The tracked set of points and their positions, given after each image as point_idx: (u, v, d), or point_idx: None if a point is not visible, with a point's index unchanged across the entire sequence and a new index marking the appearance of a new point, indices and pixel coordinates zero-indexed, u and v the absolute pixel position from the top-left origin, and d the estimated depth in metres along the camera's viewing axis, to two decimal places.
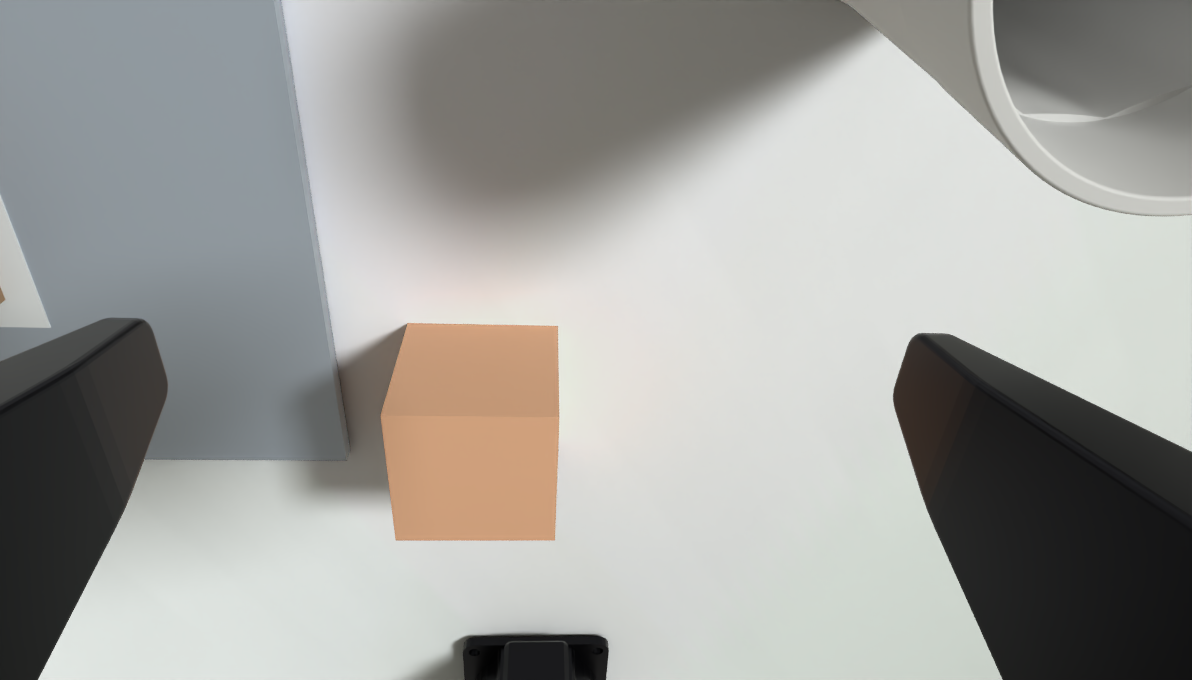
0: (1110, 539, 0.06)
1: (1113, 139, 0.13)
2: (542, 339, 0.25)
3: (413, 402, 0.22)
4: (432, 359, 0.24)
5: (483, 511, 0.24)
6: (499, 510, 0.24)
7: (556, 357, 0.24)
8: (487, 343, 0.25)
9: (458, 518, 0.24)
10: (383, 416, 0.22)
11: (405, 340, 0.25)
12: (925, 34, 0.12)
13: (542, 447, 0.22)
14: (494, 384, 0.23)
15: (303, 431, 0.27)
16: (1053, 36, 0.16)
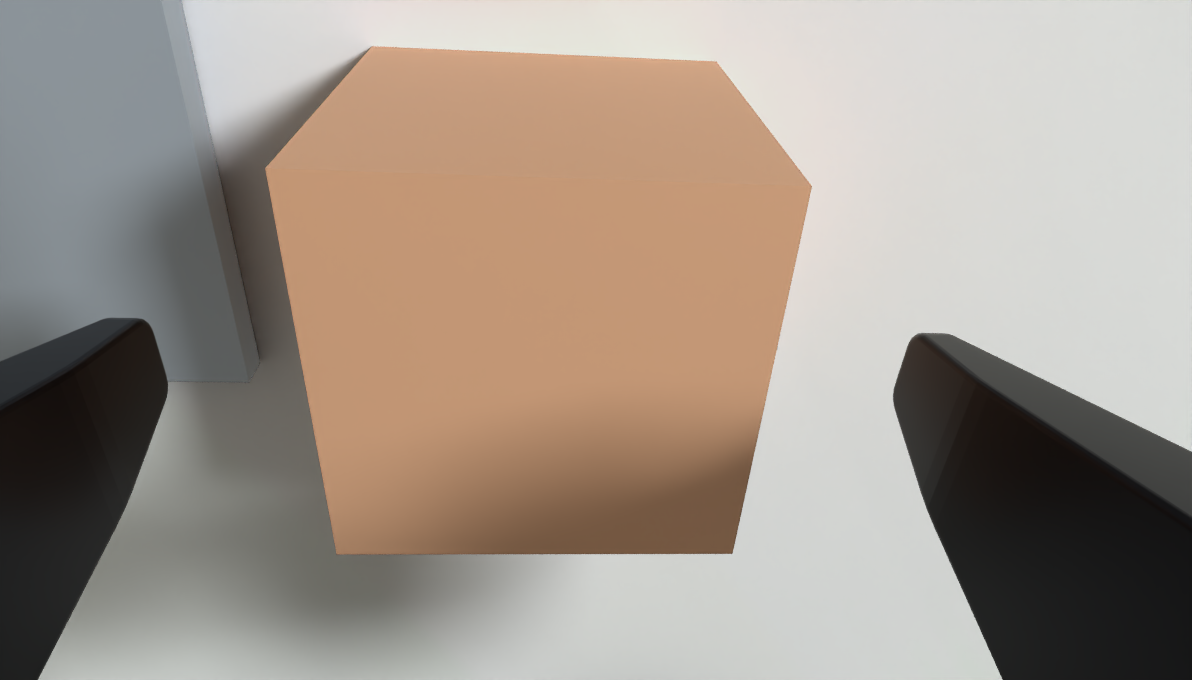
0: (1110, 539, 0.06)
1: None
2: (691, 73, 0.11)
3: (372, 149, 0.07)
4: (429, 88, 0.09)
5: (562, 479, 0.09)
6: (605, 477, 0.09)
7: (739, 97, 0.10)
8: (562, 74, 0.10)
9: (496, 497, 0.09)
10: (275, 173, 0.07)
11: (363, 64, 0.10)
12: None
13: (744, 289, 0.08)
14: (597, 128, 0.08)
15: (148, 313, 0.12)
16: None
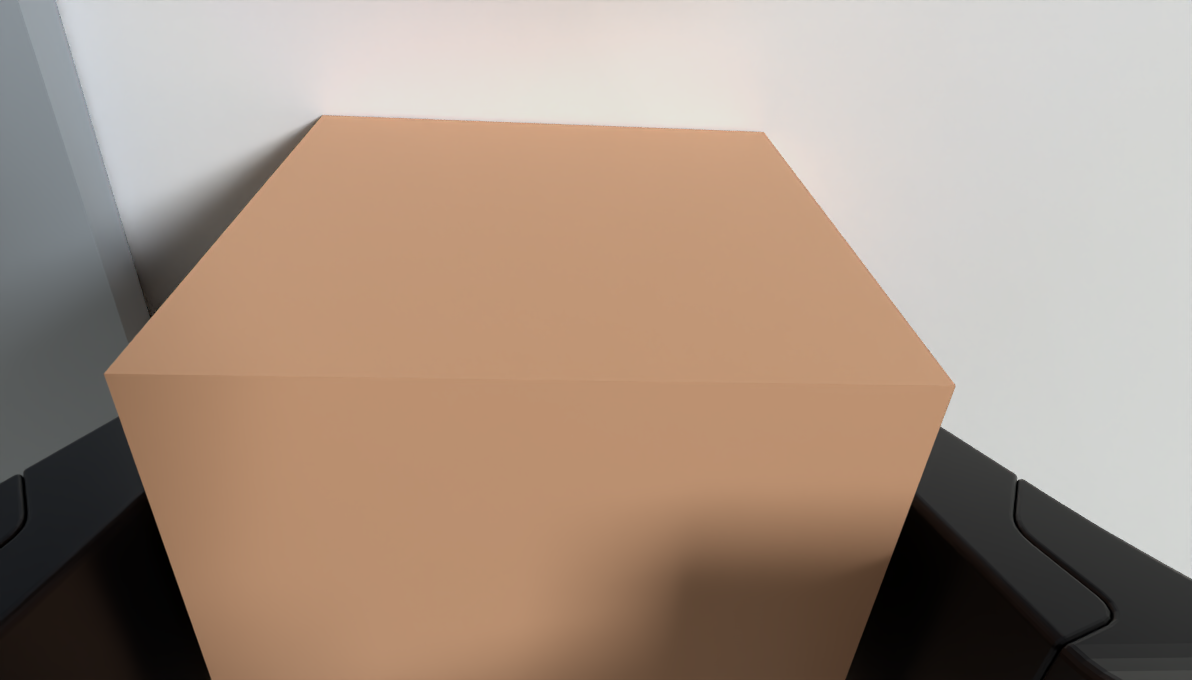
0: None
1: None
2: (737, 156, 0.08)
3: (286, 319, 0.05)
4: (387, 192, 0.07)
5: None
6: None
7: (806, 196, 0.07)
8: (568, 160, 0.08)
9: None
10: (121, 380, 0.04)
11: (303, 148, 0.08)
12: None
13: (840, 517, 0.05)
14: (622, 263, 0.06)
15: (52, 437, 0.10)
16: None
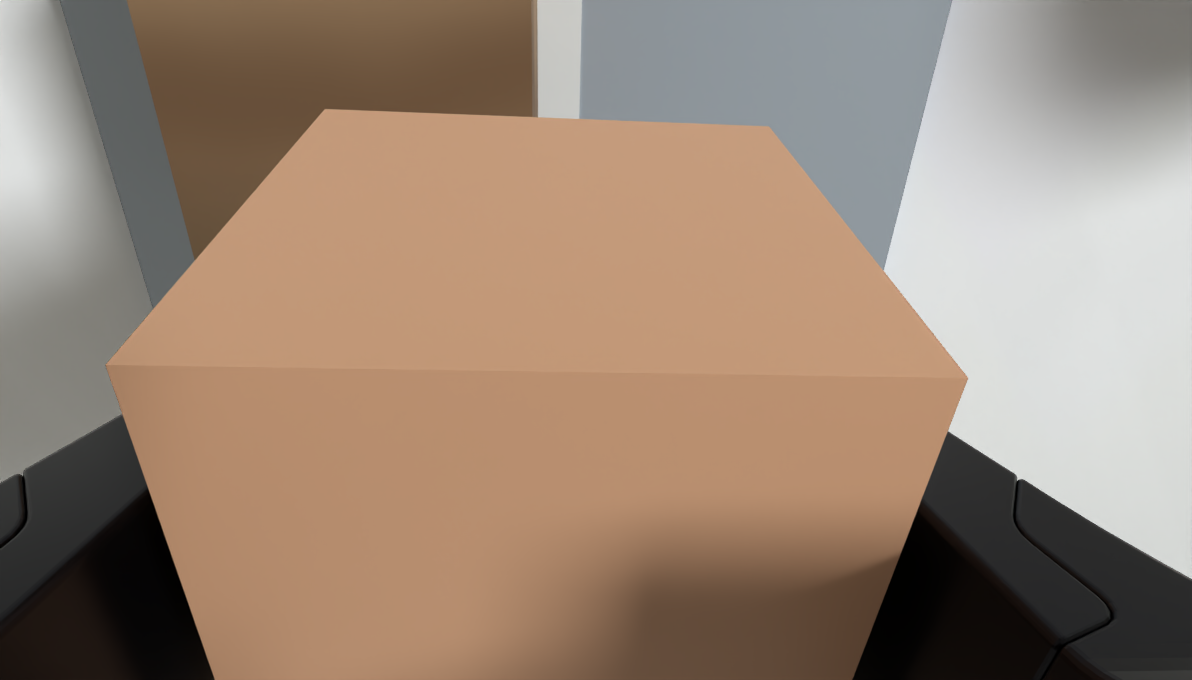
0: None
1: None
2: (742, 150, 0.08)
3: (289, 311, 0.05)
4: (390, 184, 0.07)
5: None
6: None
7: (813, 190, 0.07)
8: (572, 154, 0.08)
9: None
10: (122, 370, 0.04)
11: (306, 141, 0.08)
12: None
13: (850, 512, 0.05)
14: (627, 255, 0.06)
15: None
16: None
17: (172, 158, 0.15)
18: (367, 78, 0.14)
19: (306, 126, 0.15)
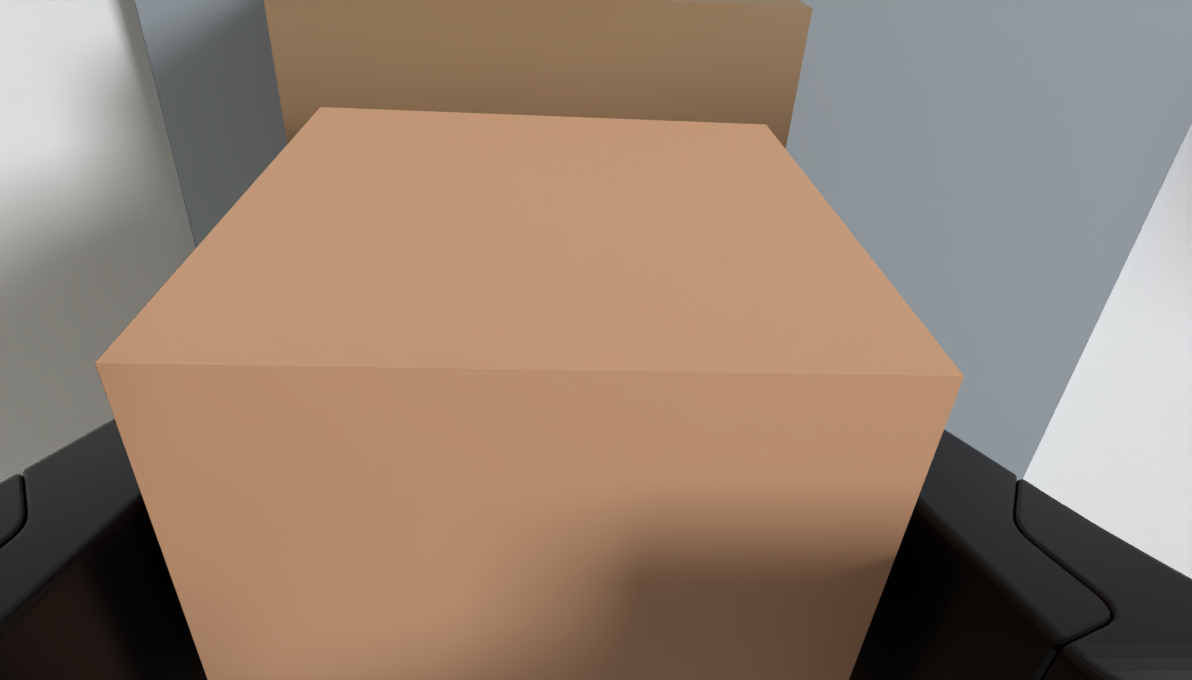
0: None
1: None
2: (739, 148, 0.08)
3: (279, 309, 0.05)
4: (384, 182, 0.07)
5: None
6: None
7: (810, 188, 0.07)
8: (568, 153, 0.08)
9: None
10: (112, 369, 0.04)
11: (300, 139, 0.08)
12: None
13: (846, 510, 0.05)
14: (623, 254, 0.06)
15: None
16: None
17: None
18: None
19: None
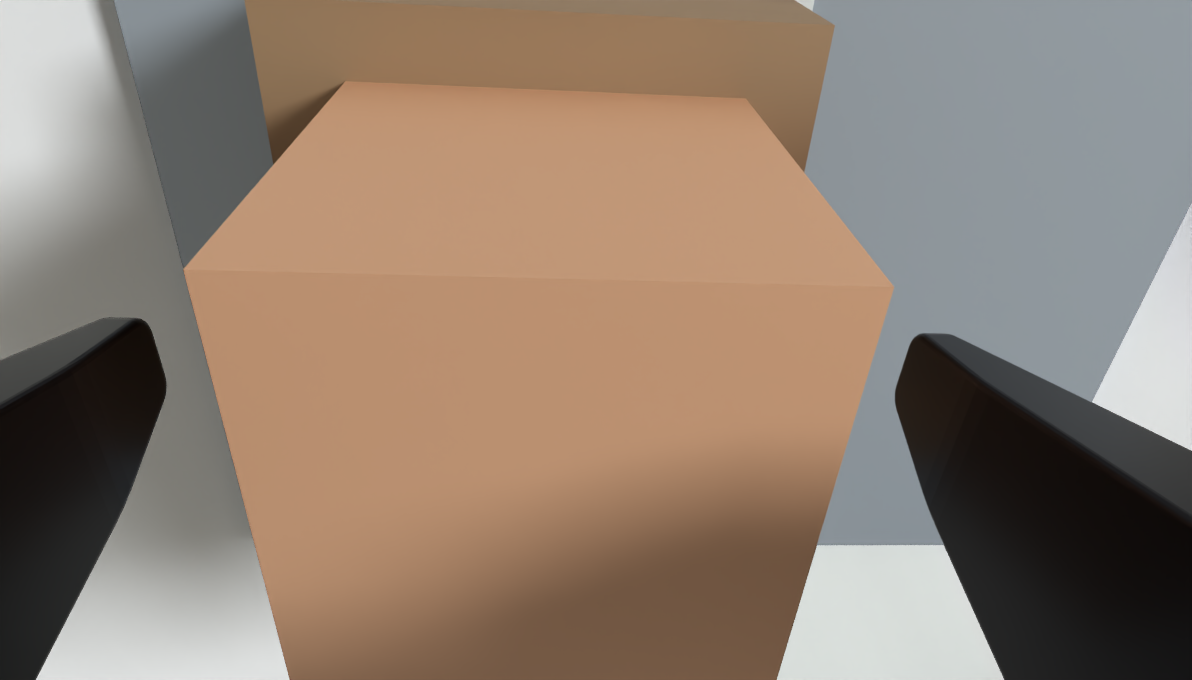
0: (1113, 539, 0.06)
1: None
2: (720, 117, 0.09)
3: (328, 235, 0.06)
4: (408, 142, 0.08)
5: (569, 620, 0.07)
6: (620, 618, 0.07)
7: (780, 149, 0.08)
8: (568, 120, 0.09)
9: (488, 639, 0.08)
10: (197, 275, 0.05)
11: (331, 107, 0.08)
12: None
13: (801, 407, 0.06)
14: (615, 197, 0.07)
15: None
16: None
17: None
18: None
19: None
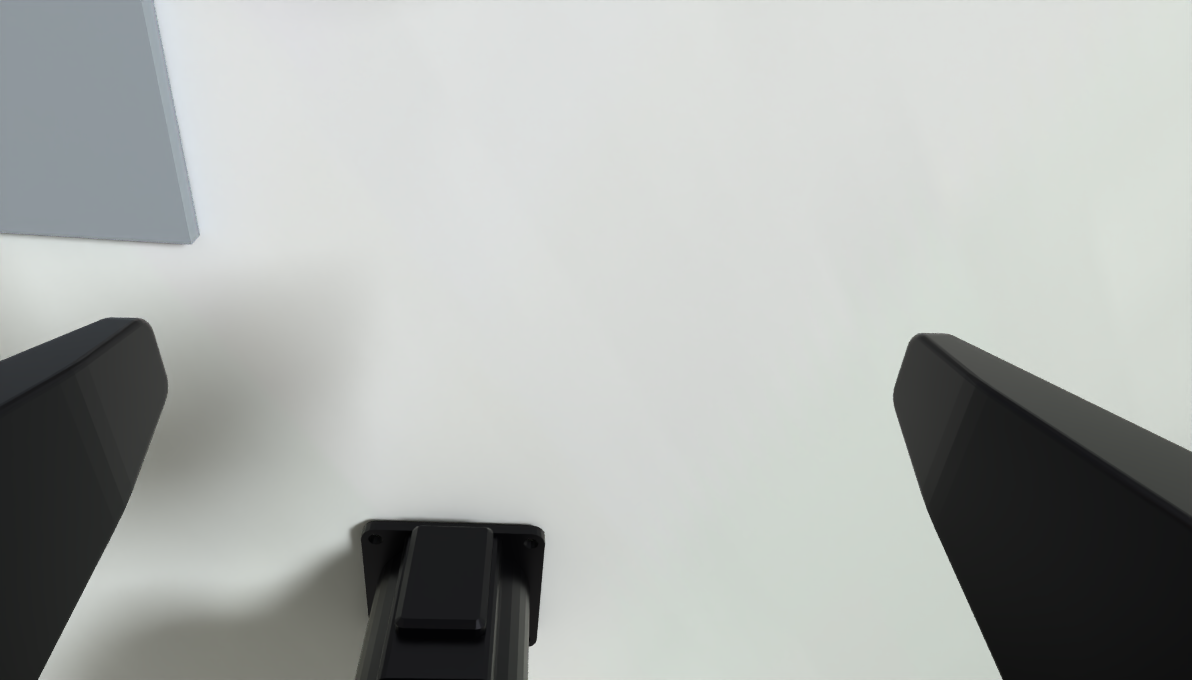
0: (1111, 539, 0.06)
1: None
2: None
3: None
4: None
5: None
6: None
7: None
8: None
9: None
10: None
11: None
12: None
13: None
14: None
15: (128, 194, 0.20)
16: None
17: None
18: None
19: None
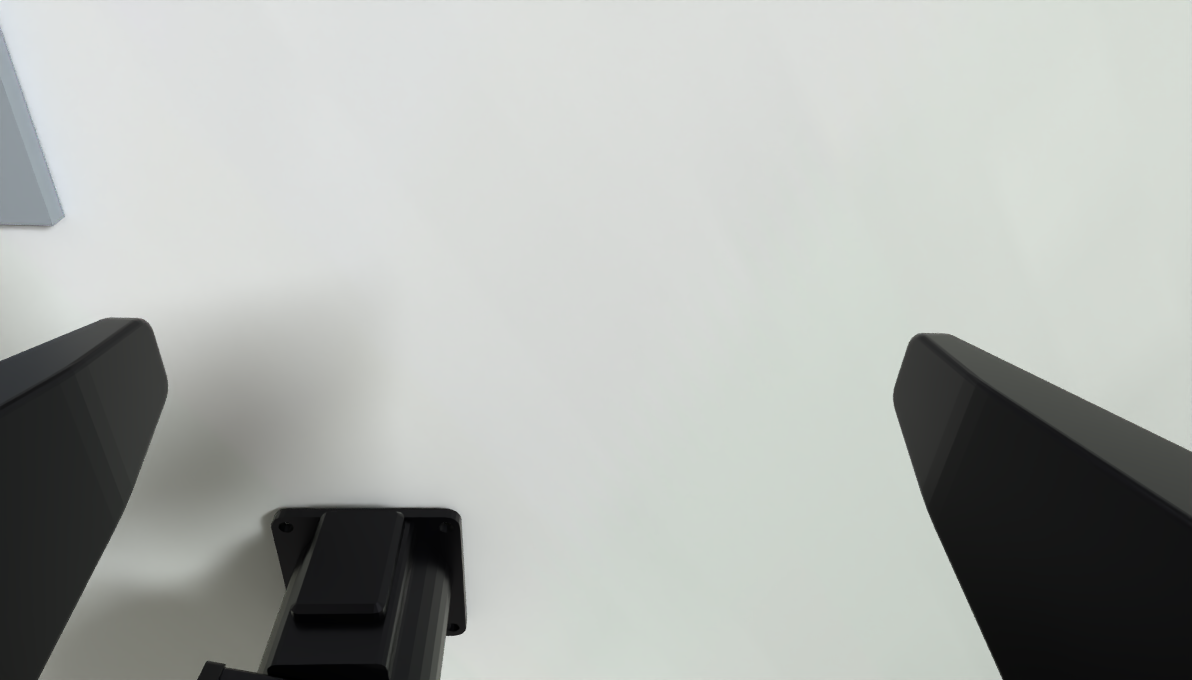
0: (1111, 539, 0.06)
1: None
2: None
3: None
4: None
5: None
6: None
7: None
8: None
9: None
10: None
11: None
12: None
13: None
14: None
15: None
16: None
17: None
18: None
19: None
